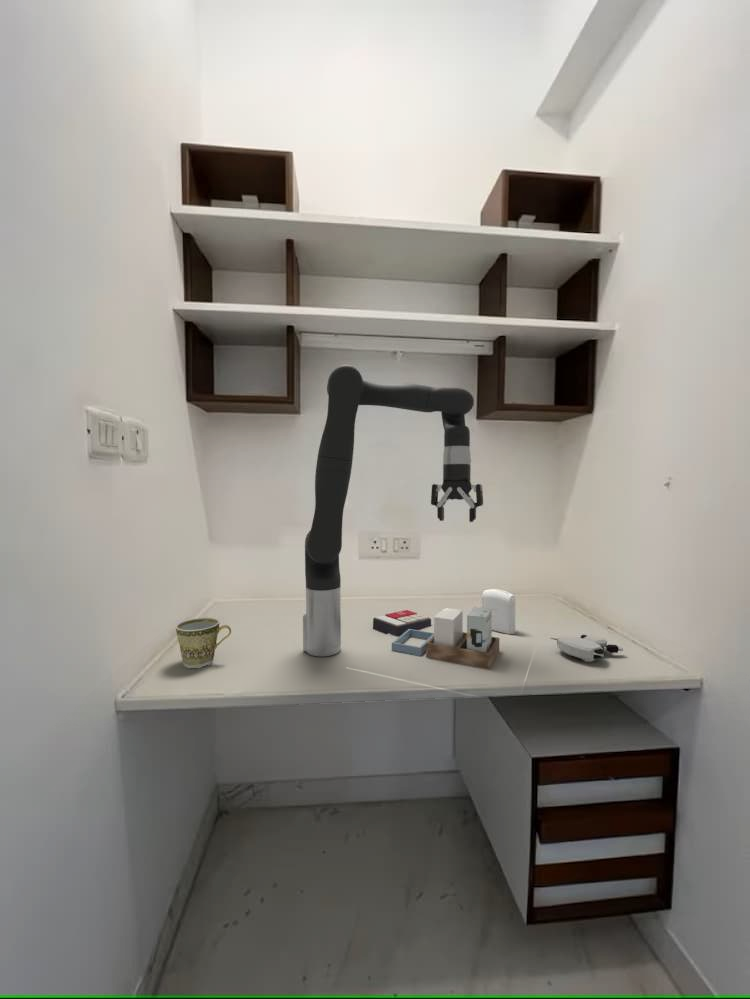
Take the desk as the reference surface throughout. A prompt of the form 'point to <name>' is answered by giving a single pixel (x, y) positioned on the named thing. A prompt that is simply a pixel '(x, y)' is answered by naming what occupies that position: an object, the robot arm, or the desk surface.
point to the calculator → (400, 622)
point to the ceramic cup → (198, 640)
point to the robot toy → (585, 647)
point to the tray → (410, 649)
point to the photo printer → (500, 609)
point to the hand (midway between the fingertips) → (456, 521)
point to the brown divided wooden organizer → (463, 653)
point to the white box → (448, 627)
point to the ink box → (479, 629)
